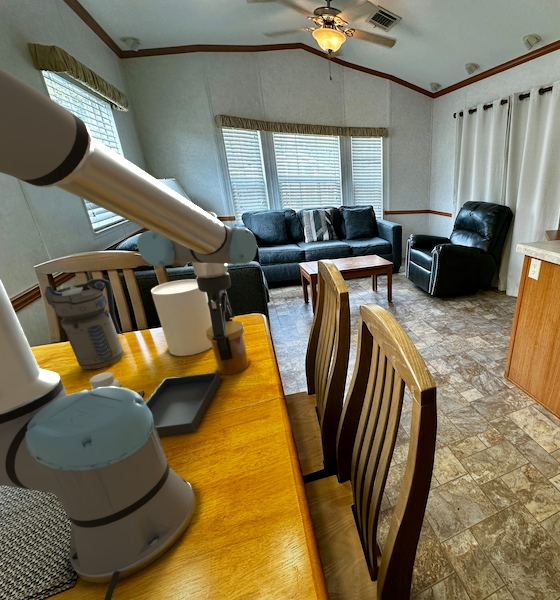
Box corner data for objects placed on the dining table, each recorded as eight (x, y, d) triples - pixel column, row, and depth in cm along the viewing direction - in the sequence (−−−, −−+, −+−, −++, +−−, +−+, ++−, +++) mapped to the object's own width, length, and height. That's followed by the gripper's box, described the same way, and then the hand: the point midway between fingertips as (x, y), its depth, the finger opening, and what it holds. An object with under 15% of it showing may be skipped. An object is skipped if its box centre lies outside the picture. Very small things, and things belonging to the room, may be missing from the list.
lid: (247, 325, 95) (246, 319, 94) (239, 340, 87) (238, 334, 86) (213, 328, 93) (212, 322, 93) (202, 343, 85) (200, 337, 84)
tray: (194, 432, 70) (191, 422, 69) (124, 441, 68) (121, 432, 67) (221, 379, 88) (219, 371, 87) (167, 385, 85) (164, 377, 84)
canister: (160, 348, 104) (142, 288, 96) (203, 331, 114) (189, 277, 107) (183, 360, 97) (164, 297, 90) (226, 341, 108) (213, 283, 100)
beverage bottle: (140, 355, 100) (113, 277, 90) (84, 376, 89) (47, 291, 80) (126, 346, 105) (100, 271, 96) (72, 365, 95) (36, 284, 85)
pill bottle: (128, 414, 76) (114, 378, 72) (98, 423, 73) (82, 387, 69) (130, 401, 80) (117, 367, 76) (102, 409, 77) (87, 374, 73)
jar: (244, 372, 91) (237, 335, 87) (213, 375, 89) (204, 338, 85) (251, 357, 98) (244, 323, 94) (222, 360, 97) (214, 325, 92)
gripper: (223, 285, 75) (241, 367, 83) (232, 261, 95) (246, 329, 103) (185, 289, 72) (207, 373, 80) (203, 264, 92) (219, 333, 100)
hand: (229, 349), depth 92 cm, fingers open, 11 cm apart
